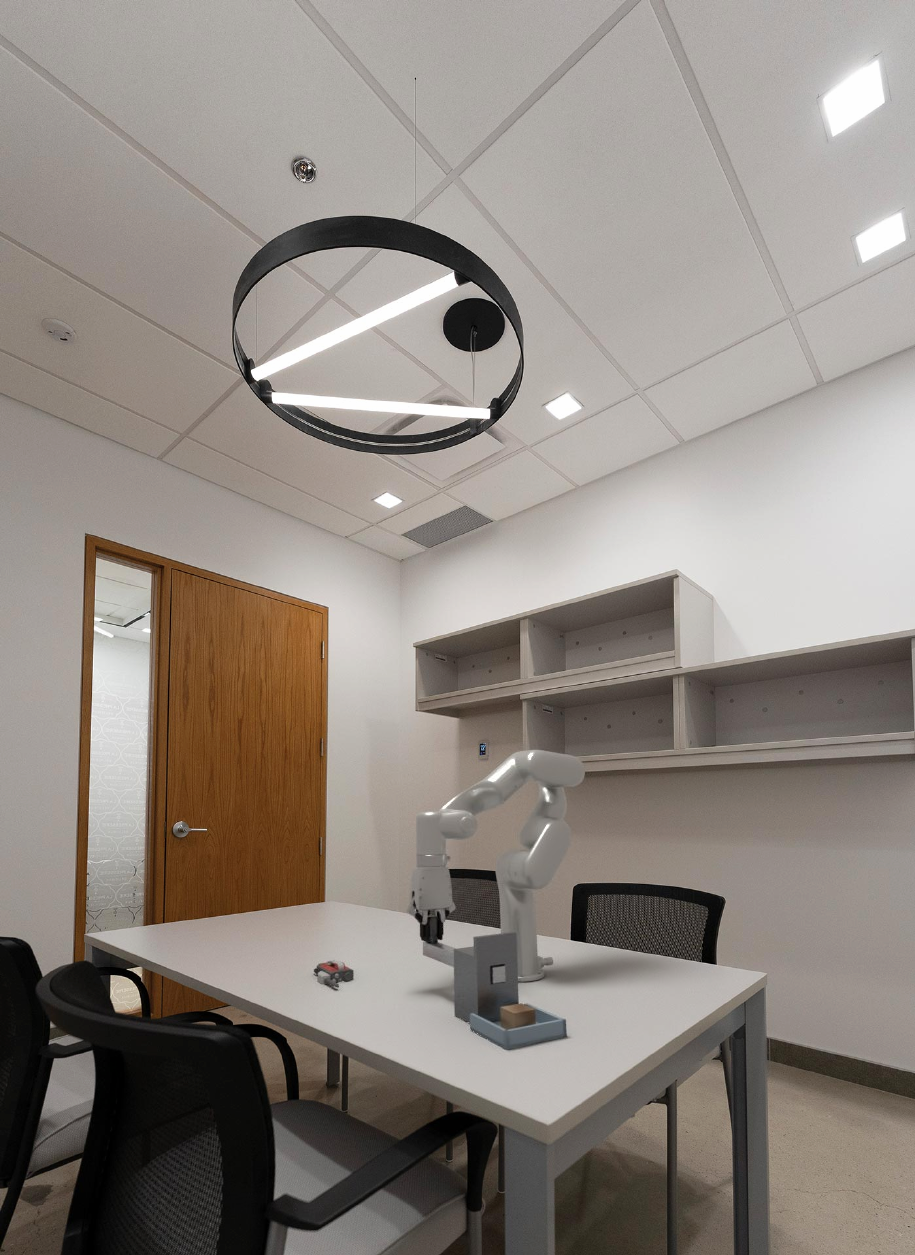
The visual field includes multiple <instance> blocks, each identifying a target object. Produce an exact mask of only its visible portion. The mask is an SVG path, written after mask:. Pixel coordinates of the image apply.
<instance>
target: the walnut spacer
mask: <svg viewBox="0 0 915 1255" xmlns="http://www.w3.org/2000/svg"><path fill="white" fill-rule="evenodd" d="M524 1004H525V1003H524ZM524 1004H523V1003H521V1002H519V1004H515V1005H509V1006H504V1007H500V1011H501V1027H502V1028H504V1029H506V1030H509V1029H514V1028H519V1027H524V1026H529V1025H534V1024H536V1015H535V1009H533V1008H531V1007H529V1006H526V1005H524Z"/></svg>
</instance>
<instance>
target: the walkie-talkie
mask: <svg viewBox="0 0 915 1255" xmlns="http://www.w3.org/2000/svg"><path fill="white" fill-rule="evenodd" d="M354 972H355V971H354V969H352V968H349V967H348V966H347V965H346V964H345V962H342V961H341V960H335V959H333V960H327V962H320V963H318V964H317V965H316V968H314V969H313V973H314V974H315V975H316V976H317V975H318V976H317V982H318V983H320V984H321V985H326V983H327V984H328V985H329V986H332V987H335V988H338V989H339V987H340V984H339V983H343V982H342V981H344V982H350V980H351V981H354V976H355V974H354ZM336 982H338V983H336Z"/></svg>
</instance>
